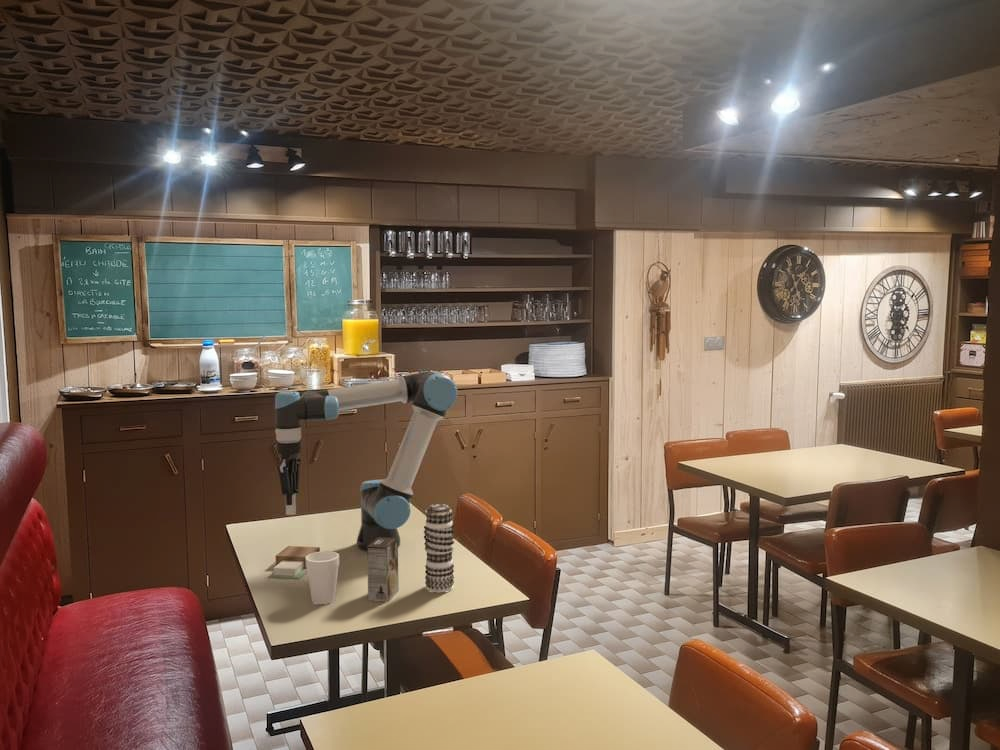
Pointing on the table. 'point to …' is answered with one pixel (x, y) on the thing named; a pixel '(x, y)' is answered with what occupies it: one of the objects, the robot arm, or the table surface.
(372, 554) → the coffee box
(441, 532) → the decorative candle
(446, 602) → the table surface
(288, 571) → the tile
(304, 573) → the mat
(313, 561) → the foam cup
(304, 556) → the brown flat block
